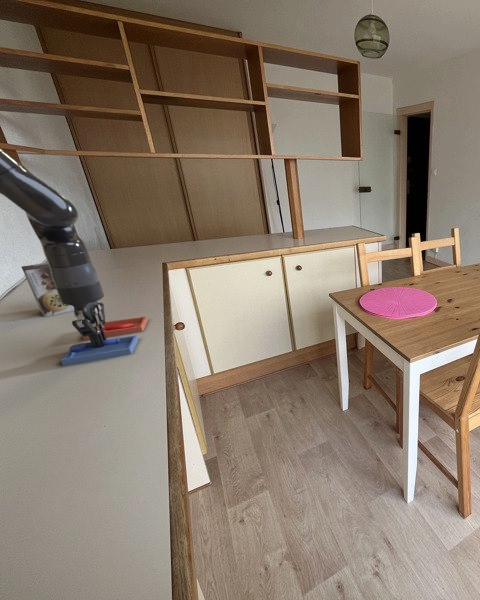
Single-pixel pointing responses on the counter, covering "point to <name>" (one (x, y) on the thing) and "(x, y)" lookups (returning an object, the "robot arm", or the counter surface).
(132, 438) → the counter surface
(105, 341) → the blue spoon
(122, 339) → the blue tray
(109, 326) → the red spoon
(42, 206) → the robot arm
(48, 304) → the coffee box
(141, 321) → the red tray
